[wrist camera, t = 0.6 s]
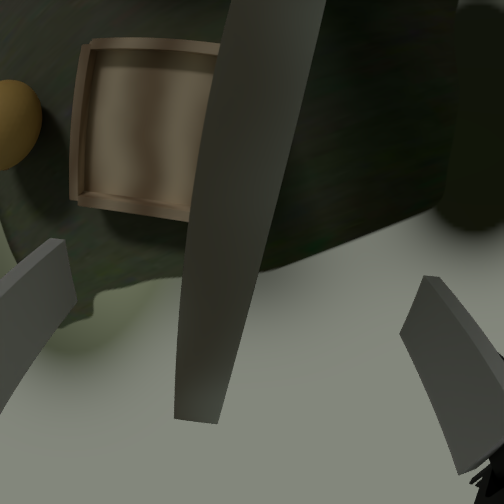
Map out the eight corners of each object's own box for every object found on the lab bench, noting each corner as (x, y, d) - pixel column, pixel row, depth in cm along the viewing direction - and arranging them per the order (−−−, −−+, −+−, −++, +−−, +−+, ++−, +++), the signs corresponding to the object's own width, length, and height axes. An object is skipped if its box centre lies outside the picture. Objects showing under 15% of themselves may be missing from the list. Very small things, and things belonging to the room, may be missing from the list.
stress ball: (64, 83, 25) (-2, 50, 16) (51, 141, 22) (-36, 106, 13) (25, 138, 29) (-33, 114, 20) (14, 199, 25) (-58, 176, 17)
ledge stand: (91, 194, 31) (-45, 344, 10) (108, 37, 22) (-83, 5, 1) (227, 214, 33) (217, 424, 12) (262, 50, 24) (340, -65, 4)
